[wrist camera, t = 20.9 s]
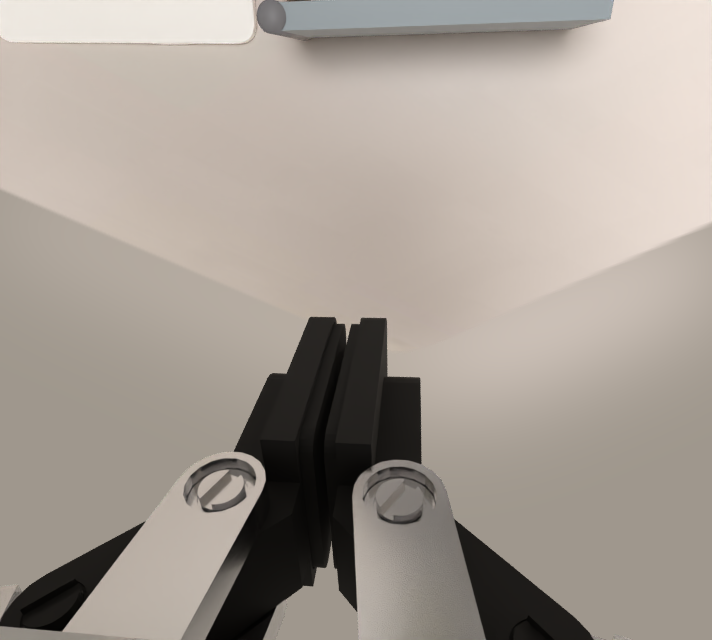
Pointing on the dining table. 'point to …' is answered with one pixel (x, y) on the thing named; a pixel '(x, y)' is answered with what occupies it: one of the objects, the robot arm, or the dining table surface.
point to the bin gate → (424, 16)
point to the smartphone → (128, 21)
